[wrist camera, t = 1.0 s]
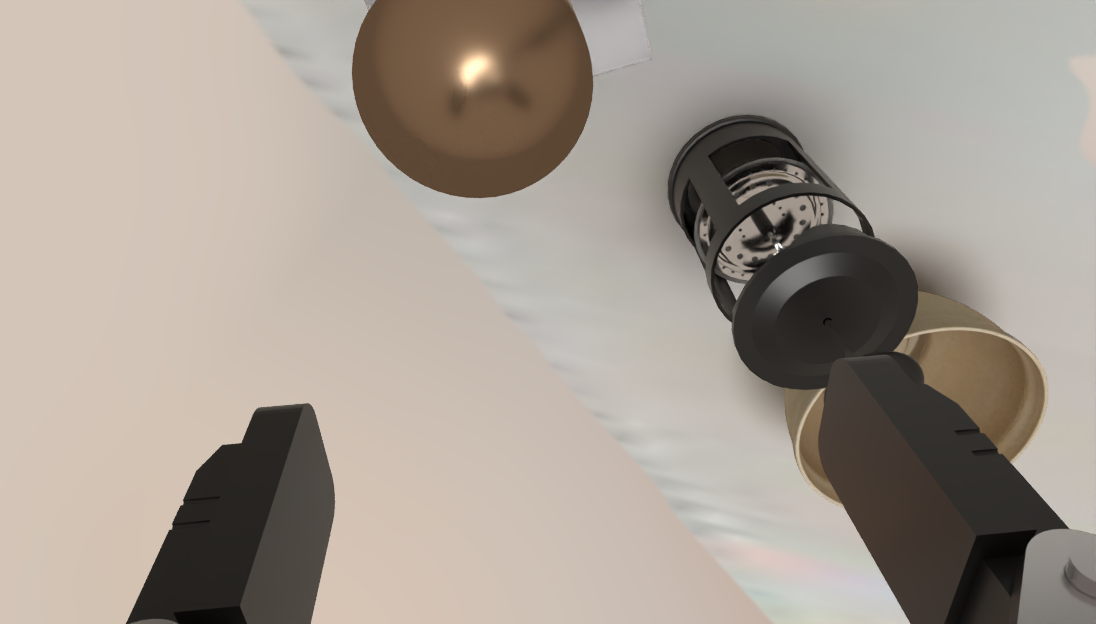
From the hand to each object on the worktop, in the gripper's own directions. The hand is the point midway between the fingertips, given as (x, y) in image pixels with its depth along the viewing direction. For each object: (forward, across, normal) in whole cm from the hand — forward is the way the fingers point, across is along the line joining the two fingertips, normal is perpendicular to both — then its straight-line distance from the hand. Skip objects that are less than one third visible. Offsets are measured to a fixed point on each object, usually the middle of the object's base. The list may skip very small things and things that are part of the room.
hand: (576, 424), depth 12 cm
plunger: (+28, 0, -5) cm, 28 cm away
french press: (+38, -15, +12) cm, 42 cm away
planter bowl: (+38, -26, +25) cm, 52 cm away
